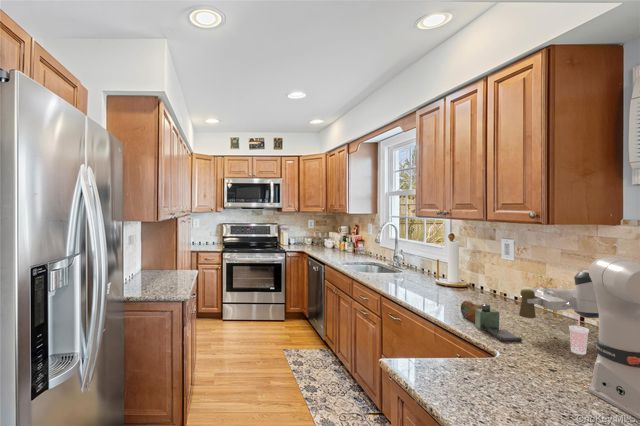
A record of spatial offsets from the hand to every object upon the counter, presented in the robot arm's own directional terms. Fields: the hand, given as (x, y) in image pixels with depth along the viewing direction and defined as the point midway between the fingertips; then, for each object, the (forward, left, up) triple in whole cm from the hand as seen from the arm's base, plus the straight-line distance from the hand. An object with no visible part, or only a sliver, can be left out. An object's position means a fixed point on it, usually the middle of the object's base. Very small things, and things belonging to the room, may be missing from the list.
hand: (523, 299), depth 146 cm
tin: (+20, +12, -16) cm, 28 cm away
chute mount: (+3, +10, -15) cm, 18 cm away
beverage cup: (-16, -11, -16) cm, 25 cm away
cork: (-1, -1, -7) cm, 7 cm away
